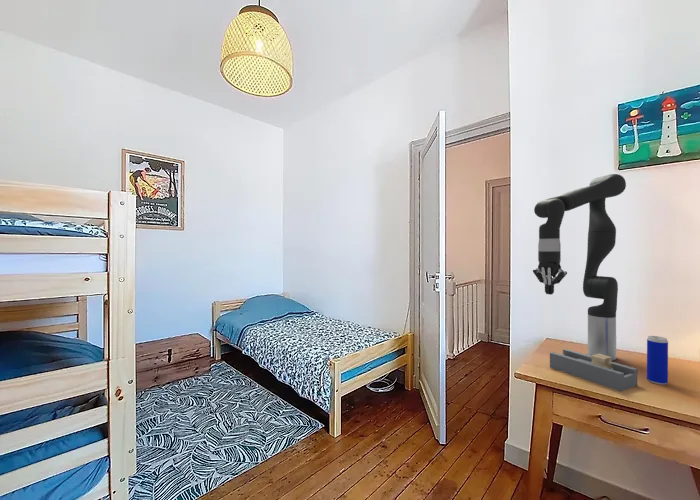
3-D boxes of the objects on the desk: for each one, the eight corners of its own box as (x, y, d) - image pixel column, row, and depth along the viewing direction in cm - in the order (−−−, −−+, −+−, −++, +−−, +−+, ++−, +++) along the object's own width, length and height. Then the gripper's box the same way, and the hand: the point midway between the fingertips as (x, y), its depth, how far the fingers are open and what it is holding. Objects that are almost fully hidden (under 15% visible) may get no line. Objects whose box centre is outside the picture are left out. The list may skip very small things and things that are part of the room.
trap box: (566, 362, 129) (566, 348, 129) (637, 385, 108) (637, 368, 108) (549, 367, 125) (549, 352, 125) (620, 391, 104) (620, 374, 104)
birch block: (598, 365, 116) (598, 353, 116) (611, 368, 112) (611, 357, 112) (591, 366, 114) (591, 355, 114) (604, 370, 110) (604, 359, 110)
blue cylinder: (671, 385, 107) (672, 340, 107) (653, 384, 108) (653, 339, 108) (660, 379, 112) (660, 335, 112) (643, 378, 114) (643, 335, 113)
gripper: (572, 250, 125) (572, 295, 125) (539, 249, 137) (539, 291, 137) (560, 250, 122) (560, 297, 122) (527, 250, 134) (527, 292, 134)
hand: (549, 294), depth 129 cm, fingers closed
